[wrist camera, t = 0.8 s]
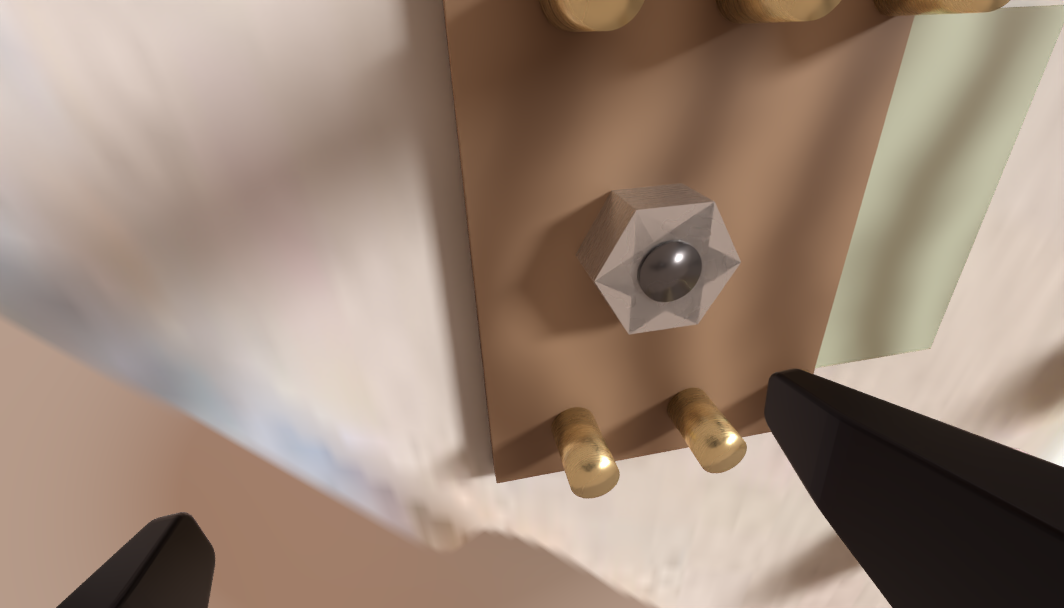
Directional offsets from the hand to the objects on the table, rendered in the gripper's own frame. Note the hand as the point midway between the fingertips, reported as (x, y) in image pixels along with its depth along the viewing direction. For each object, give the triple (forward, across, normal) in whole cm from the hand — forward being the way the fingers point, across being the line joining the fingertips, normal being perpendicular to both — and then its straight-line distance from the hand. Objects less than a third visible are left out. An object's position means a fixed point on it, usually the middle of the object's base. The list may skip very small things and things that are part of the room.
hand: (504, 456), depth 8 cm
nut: (+12, -7, +3) cm, 15 cm away
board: (+13, -11, +3) cm, 18 cm away
